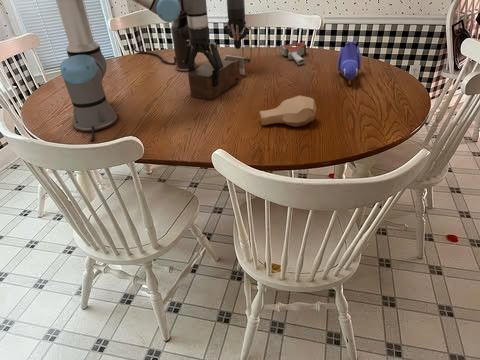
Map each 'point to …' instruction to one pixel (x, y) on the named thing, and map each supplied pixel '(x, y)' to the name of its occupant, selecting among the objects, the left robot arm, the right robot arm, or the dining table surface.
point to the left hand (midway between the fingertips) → (205, 83)
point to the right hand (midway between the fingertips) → (238, 48)
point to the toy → (349, 61)
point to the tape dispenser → (294, 52)
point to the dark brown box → (211, 80)
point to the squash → (291, 112)
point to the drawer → (238, 64)
